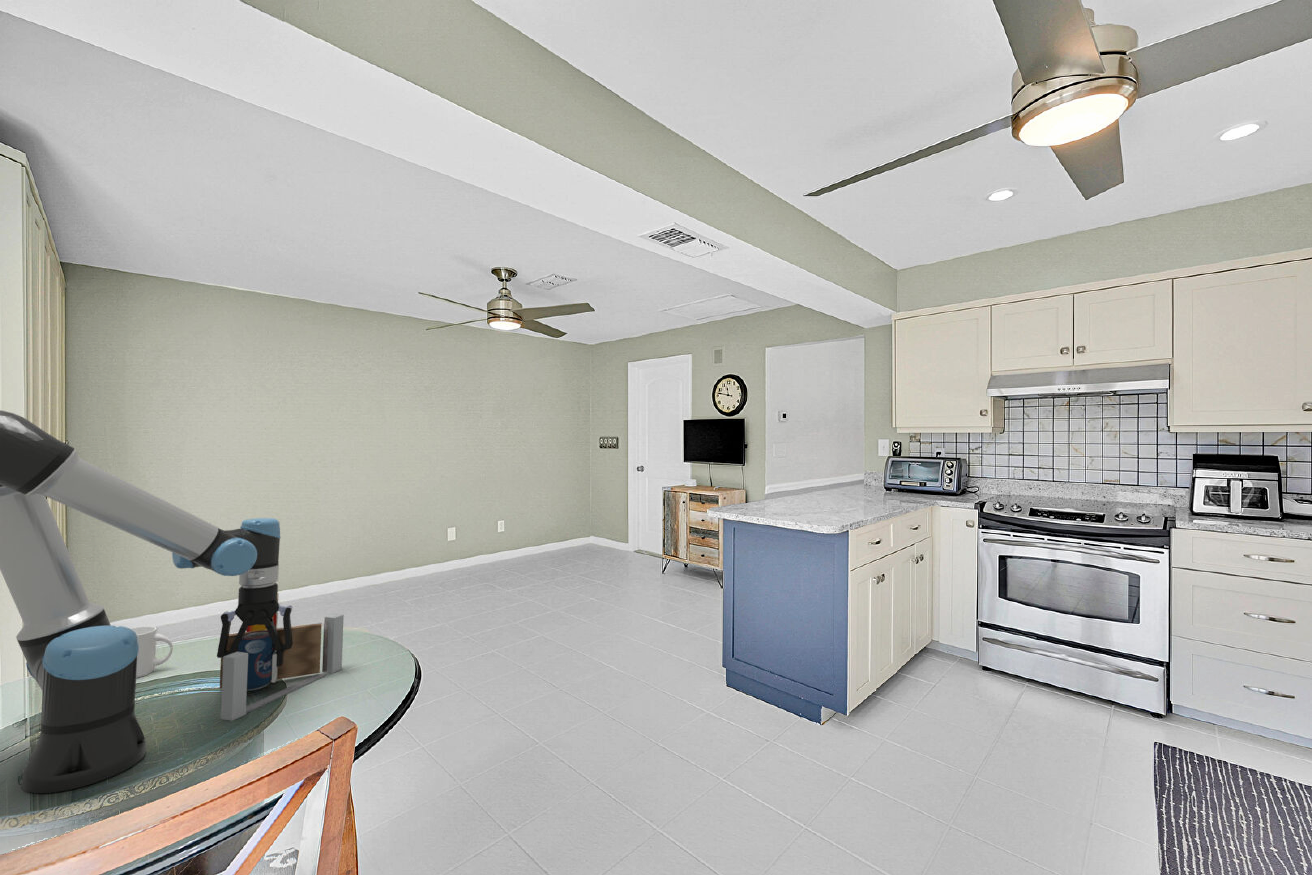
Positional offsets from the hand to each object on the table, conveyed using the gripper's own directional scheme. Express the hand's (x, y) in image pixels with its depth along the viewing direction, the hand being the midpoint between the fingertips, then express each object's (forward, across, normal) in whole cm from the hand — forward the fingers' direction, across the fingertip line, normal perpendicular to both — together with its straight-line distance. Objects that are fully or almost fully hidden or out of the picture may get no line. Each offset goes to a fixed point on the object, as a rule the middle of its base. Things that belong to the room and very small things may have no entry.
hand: (254, 682), depth 129 cm
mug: (+2, -27, +25) cm, 37 cm away
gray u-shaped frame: (+2, +7, -3) cm, 8 cm away
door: (+1, +4, +5) cm, 6 cm away
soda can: (+1, 0, 0) cm, 1 cm away
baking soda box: (+2, -3, +27) cm, 27 cm away
